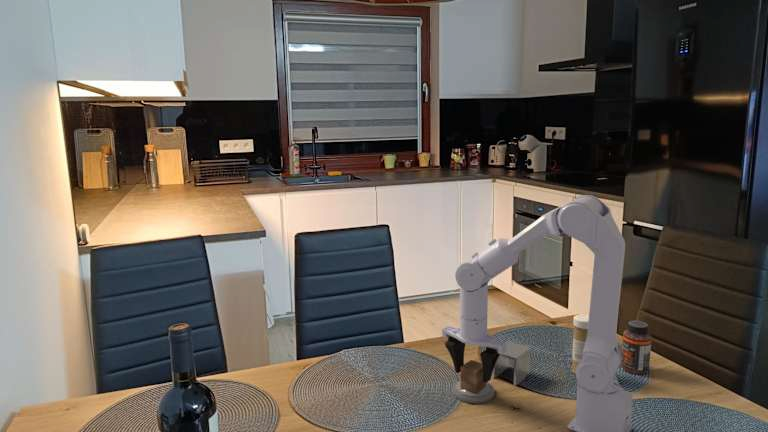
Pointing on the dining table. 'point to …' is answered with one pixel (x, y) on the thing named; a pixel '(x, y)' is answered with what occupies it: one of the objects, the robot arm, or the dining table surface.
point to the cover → (520, 361)
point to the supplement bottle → (636, 348)
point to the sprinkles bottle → (579, 339)
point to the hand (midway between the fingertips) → (473, 375)
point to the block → (472, 377)
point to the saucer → (469, 397)
